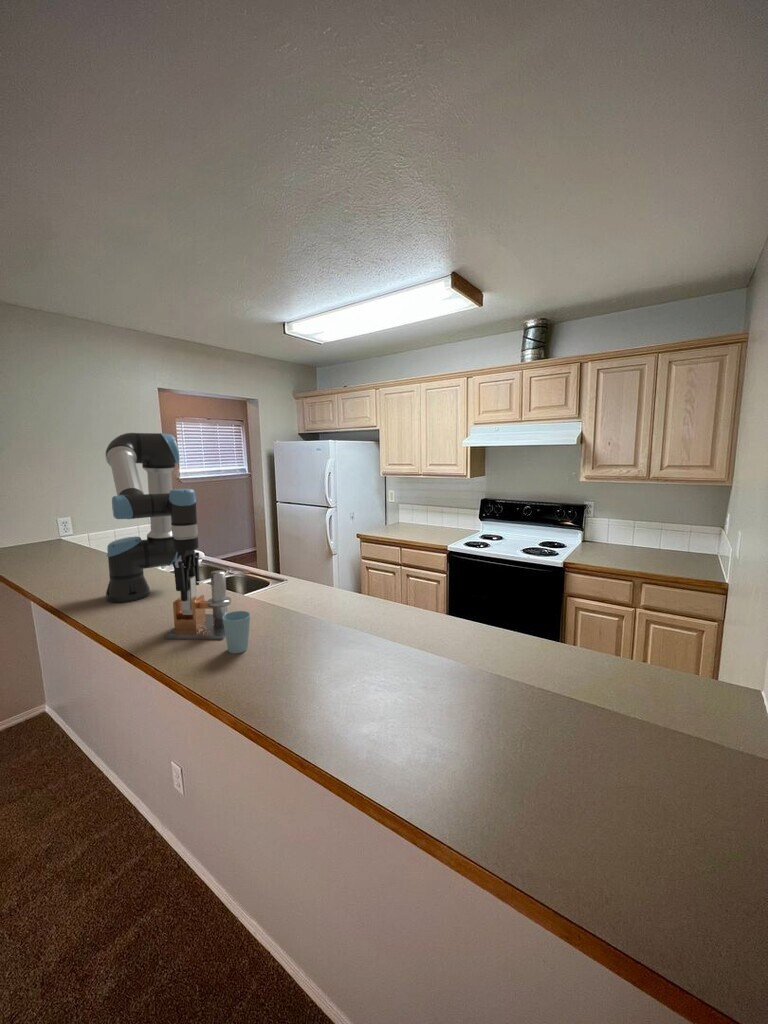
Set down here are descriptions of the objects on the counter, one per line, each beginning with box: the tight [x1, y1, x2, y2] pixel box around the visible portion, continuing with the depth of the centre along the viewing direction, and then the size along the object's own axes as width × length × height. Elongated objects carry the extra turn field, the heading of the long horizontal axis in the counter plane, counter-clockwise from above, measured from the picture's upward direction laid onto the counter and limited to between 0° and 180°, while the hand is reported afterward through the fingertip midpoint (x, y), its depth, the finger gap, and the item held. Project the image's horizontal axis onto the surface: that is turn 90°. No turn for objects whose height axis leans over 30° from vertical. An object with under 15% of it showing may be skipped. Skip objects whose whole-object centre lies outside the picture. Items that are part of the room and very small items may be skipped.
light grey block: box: [182, 576, 197, 615], centre depth 139 cm, size 3×3×12 cm
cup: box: [222, 610, 251, 654], centre depth 125 cm, size 8×8×10 cm
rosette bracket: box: [164, 569, 232, 640], centre depth 140 cm, size 18×18×19 cm
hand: (189, 607), depth 140 cm, fingers open, 4 cm apart
